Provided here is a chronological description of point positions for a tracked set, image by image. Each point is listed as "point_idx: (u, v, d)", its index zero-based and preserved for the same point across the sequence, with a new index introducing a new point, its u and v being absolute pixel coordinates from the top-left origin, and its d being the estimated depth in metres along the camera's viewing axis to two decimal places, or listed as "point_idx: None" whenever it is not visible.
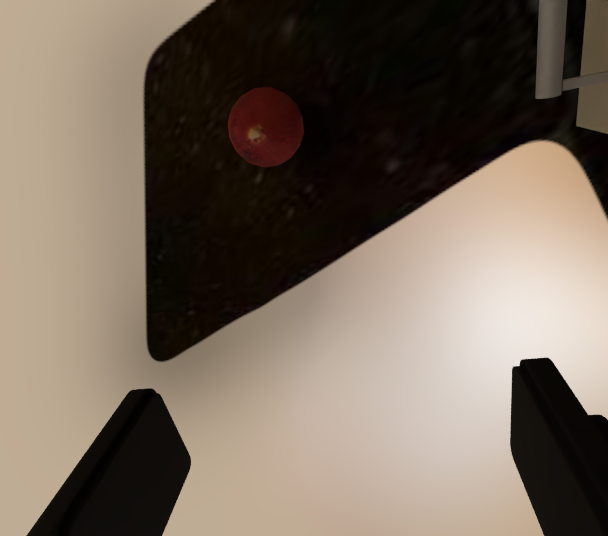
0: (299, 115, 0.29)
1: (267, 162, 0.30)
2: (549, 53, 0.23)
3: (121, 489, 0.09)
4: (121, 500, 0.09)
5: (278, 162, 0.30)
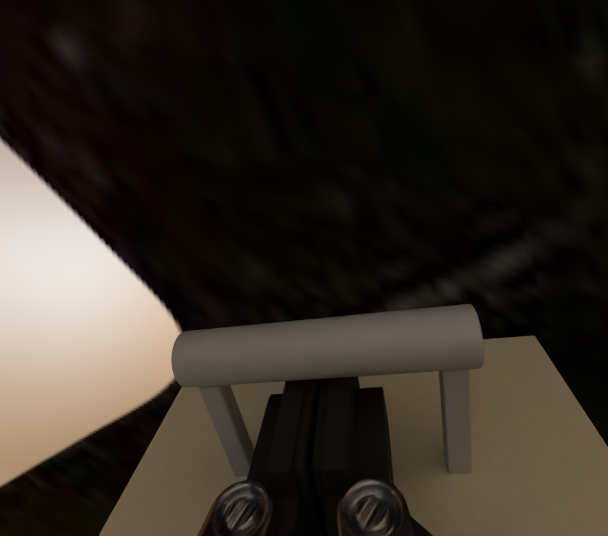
0: None
1: None
2: (272, 358, 0.09)
3: None
4: None
5: None
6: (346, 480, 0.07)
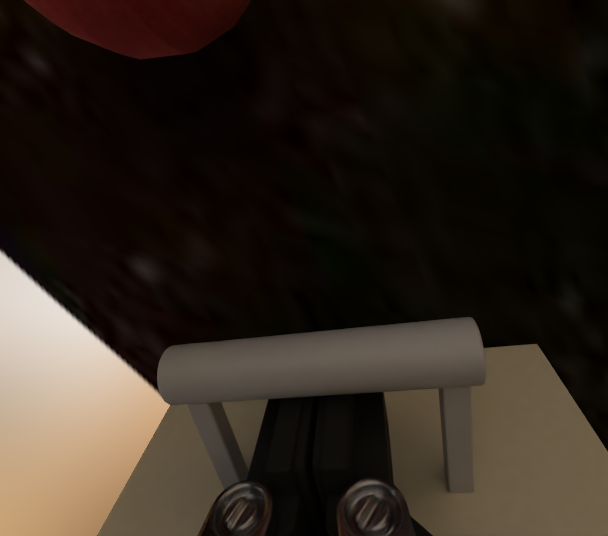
0: (184, 43, 0.08)
1: None
2: (262, 375, 0.08)
3: None
4: None
5: None
6: (346, 480, 0.07)
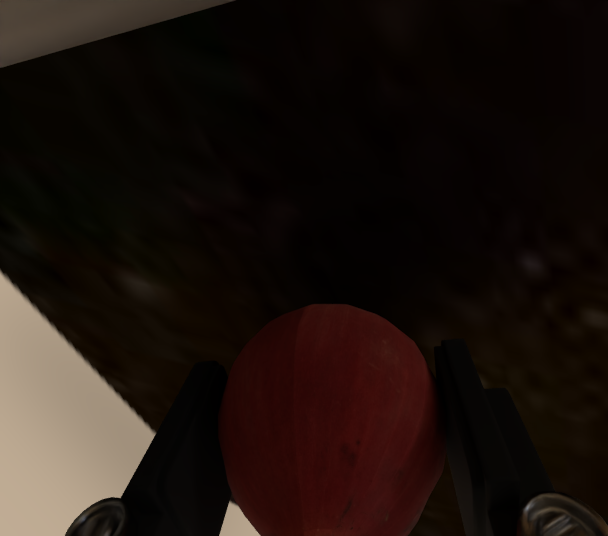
0: (288, 341, 0.09)
1: (431, 479, 0.08)
2: None
3: (199, 451, 0.09)
4: (200, 461, 0.09)
5: (436, 436, 0.08)
6: (516, 494, 0.06)
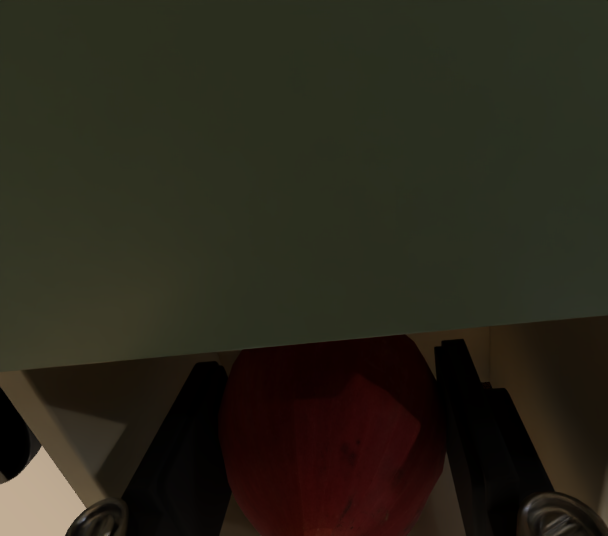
0: None
1: (431, 478, 0.08)
2: None
3: (200, 451, 0.09)
4: (200, 461, 0.09)
5: (436, 436, 0.08)
6: (515, 494, 0.06)
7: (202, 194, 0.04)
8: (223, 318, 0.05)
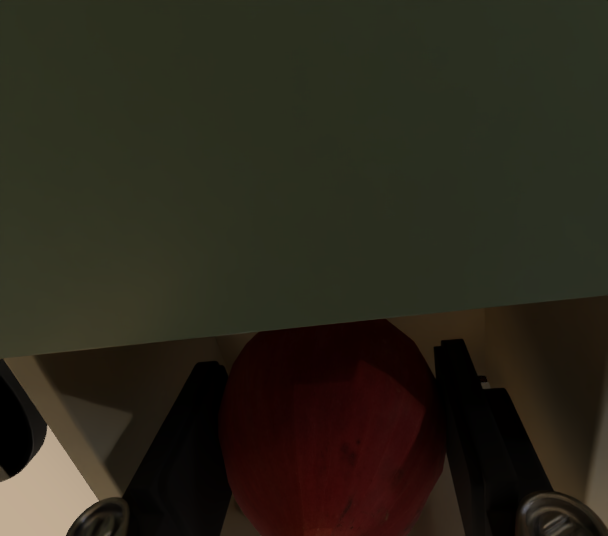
0: (288, 340, 0.09)
1: (431, 479, 0.08)
2: None
3: (201, 450, 0.09)
4: (201, 460, 0.09)
5: (436, 435, 0.08)
6: (514, 493, 0.06)
7: (213, 185, 0.04)
8: (231, 303, 0.05)
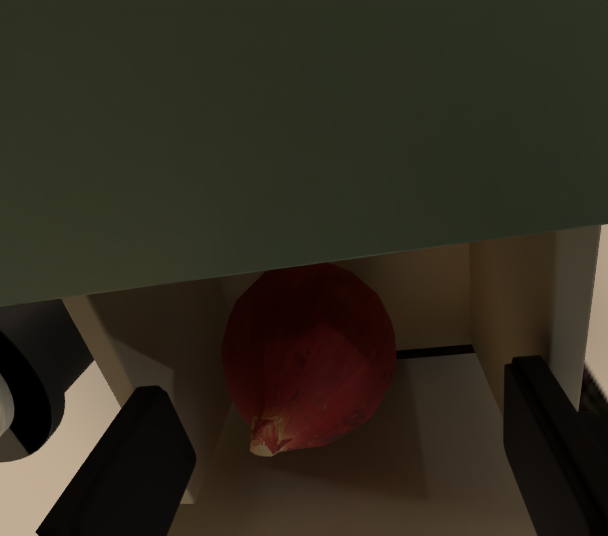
0: (272, 282, 0.12)
1: (369, 390, 0.11)
2: None
3: (129, 484, 0.09)
4: (129, 495, 0.09)
5: (375, 360, 0.11)
6: None
7: (251, 154, 0.06)
8: (261, 245, 0.07)
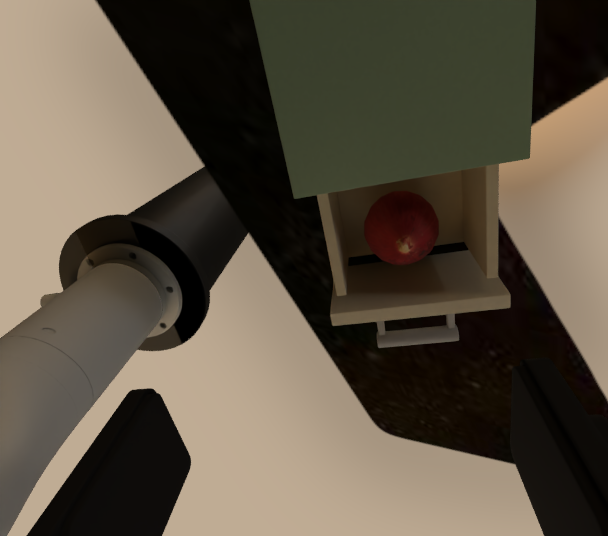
0: (391, 196, 0.30)
1: (434, 233, 0.29)
2: (429, 342, 0.35)
3: (121, 489, 0.09)
4: (121, 500, 0.09)
5: (435, 221, 0.29)
6: None
7: (403, 146, 0.24)
8: (401, 172, 0.25)
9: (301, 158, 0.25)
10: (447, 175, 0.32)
